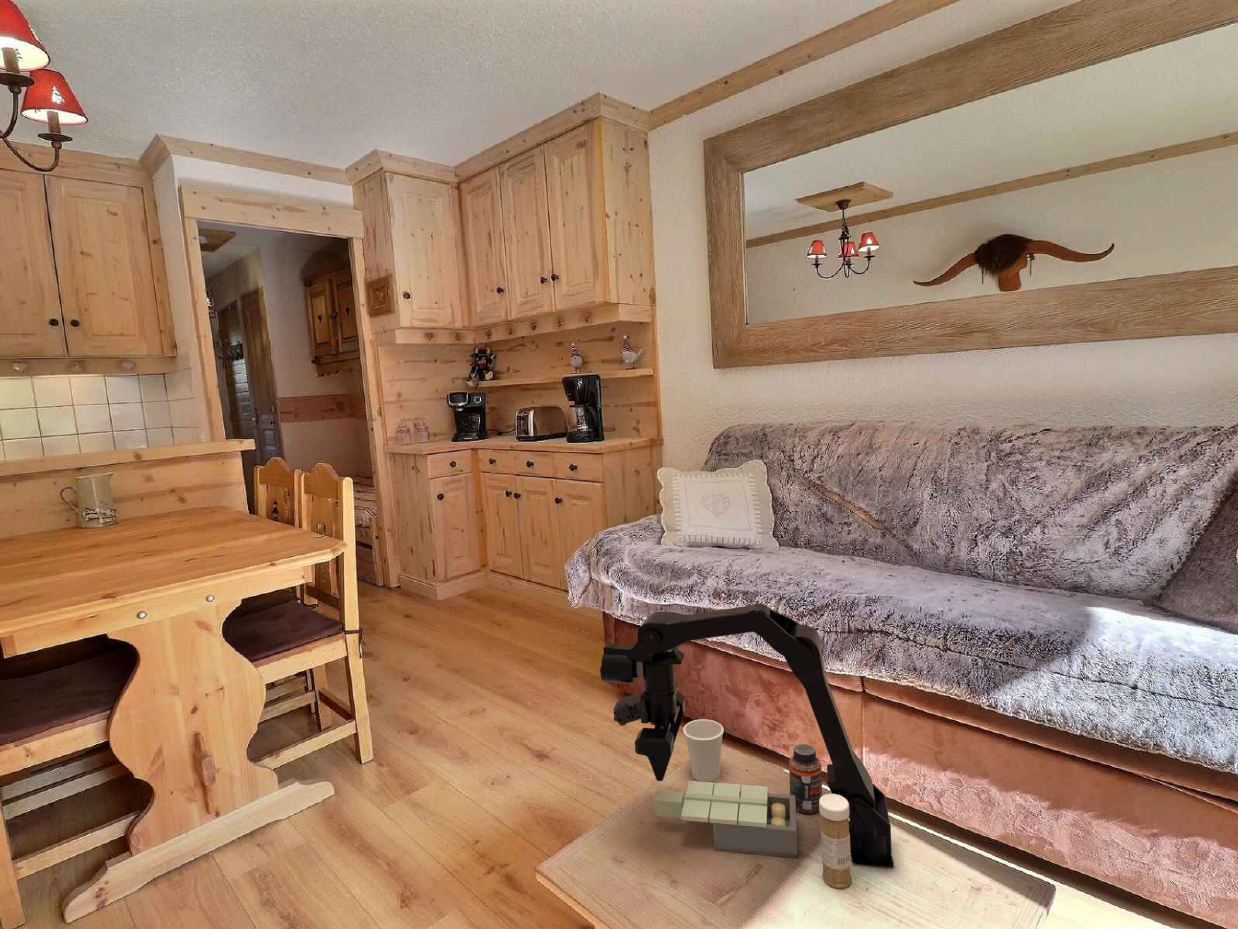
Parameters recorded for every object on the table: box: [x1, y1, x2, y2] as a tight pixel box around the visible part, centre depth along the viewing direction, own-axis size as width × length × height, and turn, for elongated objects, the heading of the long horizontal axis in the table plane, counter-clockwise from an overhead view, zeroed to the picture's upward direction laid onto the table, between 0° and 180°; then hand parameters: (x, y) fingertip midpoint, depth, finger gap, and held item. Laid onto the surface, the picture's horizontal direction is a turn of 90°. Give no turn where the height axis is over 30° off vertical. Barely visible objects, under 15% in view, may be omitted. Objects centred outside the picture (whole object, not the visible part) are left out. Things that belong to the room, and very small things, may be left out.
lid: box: [653, 780, 769, 828], centre depth 119 cm, size 20×11×4 cm, turn 76°
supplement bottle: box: [788, 743, 823, 815], centre depth 125 cm, size 6×6×11 cm
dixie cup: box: [682, 718, 724, 783], centre depth 137 cm, size 8×8×10 cm
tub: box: [712, 790, 799, 859], centre depth 118 cm, size 14×10×5 cm
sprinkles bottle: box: [818, 793, 853, 889], centre depth 105 cm, size 5×5×13 cm
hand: (664, 766), depth 121 cm, fingers open, 9 cm apart
